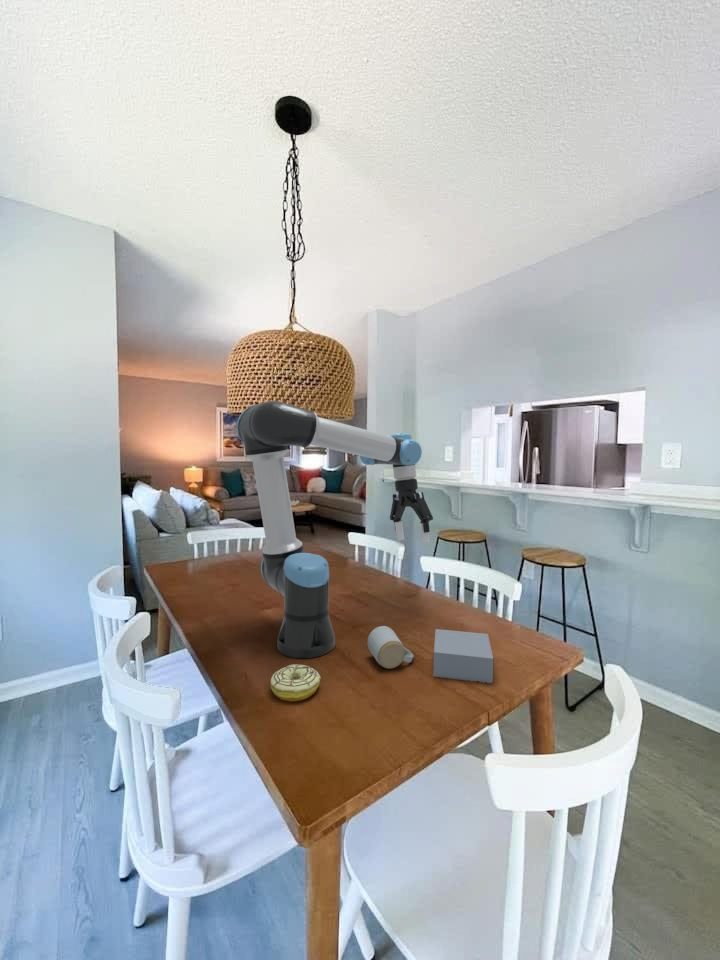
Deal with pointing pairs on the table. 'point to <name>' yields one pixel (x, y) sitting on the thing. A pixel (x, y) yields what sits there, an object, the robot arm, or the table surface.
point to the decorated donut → (295, 682)
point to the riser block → (463, 656)
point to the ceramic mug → (387, 648)
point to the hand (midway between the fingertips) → (412, 541)
